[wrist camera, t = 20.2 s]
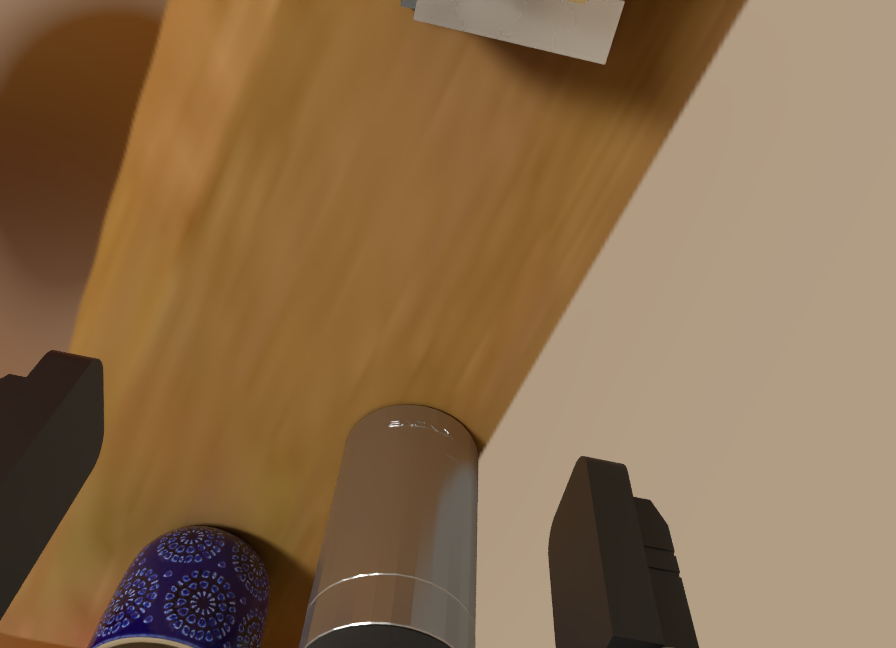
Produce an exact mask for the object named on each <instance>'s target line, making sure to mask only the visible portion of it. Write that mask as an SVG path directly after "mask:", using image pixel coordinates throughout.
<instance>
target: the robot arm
mask: <svg viewBox="0 0 896 648" xmlns="http://www.w3.org/2000/svg"><path fill="white" fill-rule="evenodd" d="M103 436H104V395H103V365H102V362H101V361H100V360H99V359H96V358H91V357H86V356H81V355H76V354H71V353H66V352H61V351H56V350H51V351H49V352H48V353H46V354H45V355H44V357H43V358H42V359H41V360H40V361H39V363H38V364H37V365H36V366H35V367H34V369H33V370H32V371H31V372H30V373H29V375H28V376H27V377H22V376H17V375H12V374H8V375H7V376H5V377H3V378H1V379H0V620H1V618H2V617H3V615H4V614H5V612H6V610H7V609H8V607H9V605H10V604H11V602H12V600H13V599H14V597H15V596H16V594H17V592H18V591H19V589H20V587H21V586H22V584H23V583H24V581H25V579H26V578H27V576H28V574H29V573H30V571H31V569H32V568H33V566H34V565H35V563H36V561H37V560H38V558H39V556H40V555H41V553H42V551H43V550H44V548H45V547H46V545H47V543H48V542H49V540H50V538H51V537H52V535H53V533H54V532H55V530H56V529H57V527H58V525H59V524H60V522H61V520H62V519H63V517H64V516H65V514H66V512H67V511H68V509H69V507H70V506H71V504H72V502H73V501H74V499H75V498H76V496H77V494H78V493H79V491H80V489H81V488H82V486H83V484H84V483H85V481H86V480H87V478H88V476H89V475H90V473H91V471H92V470H93V468H94V466H95V464H96V462H97V459H98V457H99V454H100V450H101V447H102V442H103ZM477 503H478V452H477V448H476V444H475V442H474V440H473V438H472V436H471V434H470V433H469V432H468V431H467V430H466V429H465V427H464V426H463V425H462V424H461V423H459V422H458V421H457V420H455V419H454V418H453V417H451V416H449V415H447V414H445V413H443V412H441V411H439V410H436V409H433V408H429V407H426V406H418V405H395V406H390V407H386V408H382V409H380V410H377V411H375V412H373V413H371V414H369V415H367V416H366V417H365V418H363V419H362V420H360V421H359V422H358V423H357V425H356V426H355V427H354V428H353V429H352V430H351V432H350V434H349V436H348V439H347V441H346V445H345V449H344V454H343V458H342V462H341V466H340V471H339V475H338V479H337V483H336V487H335V491H334V495H333V500H332V504H331V508H330V513H329V517H328V521H327V526H326V530H325V534H324V539H323V543H322V547H321V552H320V556H319V560H318V565H317V569H316V573H315V578H314V582H313V586H312V591H311V595H310V599H309V604H308V608H307V612H306V617H305V622H304V627H303V631H302V635H301V640H300V644H299V648H475V618H476V558H477ZM548 550H549V551H548V556H549V568H550V581H551V594H552V604H553V605H552V606H553V618H554V631H555V643H556V648H699V646H698V642H697V638H696V634H695V630H694V626H693V622H692V618H691V614H690V610H689V606H688V602H687V598H686V595H685V590H684V587H683V583H682V579H681V578H680V577H679V573H680V571H679V567H678V563H677V559H676V556H674V547H673V543H672V539H671V535H670V531H669V528H668V525H667V523H666V522H665V520H664V519H663V517H662V516H661V515H660V513H659V512H658V510H657V509H656V508H655V506H654V505H653V503H652V502H651V501H650V500H647V499H642V498H637V497H633V494H632V489H631V484H630V480H629V475H628V471H627V468H626V466H625V465H624V464H620V463H615V462H610V461H605V460H600V459H595V458H590V457H585V456H581V457H580V458H579V459H578V461H577V462H576V465H575V467H574V469H573V472H572V474H571V477H570V479H569V482H568V484H567V487H566V489H565V492H564V494H563V497H562V499H561V502H560V504H559V507H558V509H557V512H556V514H555V517H554V520H553V523H552V527H551V531H550V537H549V548H548Z"/></svg>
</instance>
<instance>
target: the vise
mask: <svg viewBox="0 0 896 648" xmlns="http://www.w3.org/2000/svg"><path fill="white" fill-rule="evenodd" d="M624 3H625V1H624V0H586V1H585V5H584V4H580V3H575V2H571V1H567V0H401V6H403V7H408V8H412V9H415V13H414V19H413V20H417V21H421V22H425V23H430V24H434V25H438V26H442V27H447V28H451V29H455V30H459V31H464V32H468V33H472V34H476V35H481V36H485V37H489V38H493V39H498V40H502V41H506V42H510V43H514V44H519V45H523V46H527V47H531V48H536V49H540V50H544V51H548V52H553V53H557V54H561V55H565V56H570V57H574V58H578V59H582V60H587V61H591V62H595V63H599V64H604V65H605V63H606V60H607V57H608V54H609V50H610V47H611V44H612V41H613V38H614V35H615V31H616V28H617V25H618V22H619V19H620V16H621V12H622V9H623V6H624Z"/></svg>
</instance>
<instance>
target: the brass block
mask: <svg viewBox="0 0 896 648" xmlns="http://www.w3.org/2000/svg"><path fill="white" fill-rule="evenodd" d="M567 1H571V2H575V3H580V4H584V5H585V1H586V0H567Z"/></svg>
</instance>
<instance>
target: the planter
mask: <svg viewBox="0 0 896 648" xmlns="http://www.w3.org/2000/svg"><path fill="white" fill-rule="evenodd" d="M269 605H270V582H269V578H268V574H267V571H266V568H265V566H264V564H263V562H262V560H261V558H260V557H259V556H258V554H257V553H256V552H255V550H254V549H253V548H252V547H251V546H250V545H249V544H248V543H247V542H245V541H244V540H242V539H241V538H239V537H238V536H236V535H234V534H232V533H230V532H227V531H225V530H222V529H218V528H213V527H207V526H189V527H183V528H179V529H176V530H172V531H170V532H167V533H165V534H163V535H161V536H160V537H158V538H156V539H155V540H153V541H152V542H151V543H149V544H148V545H147V546H145V547H144V548H143V549H142V550H141V552H140V553H139V554H138V555H137V556H136V558H135V559H134V560H133V562H132V563H131V565H130V566H129V568H128V570H127V571H126V573H125V574H124V576H123V578H122V580H121V581H120V583H119V585H118V587H117V588H116V590H115V592H114V594H113V596H112V598H111V600H110V602H109V604H108V606H107V608H106V609H105V611H104V613H103V615H102V617H101V619H100V622H99V624H98V626H97V628H96V630H95V632H94V634H93V636H92V638H91V640H90V643H89V645H88V647H87V648H261V644H262V640H263V636H264V632H265V627H266V622H267V617H268V611H269Z"/></svg>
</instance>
